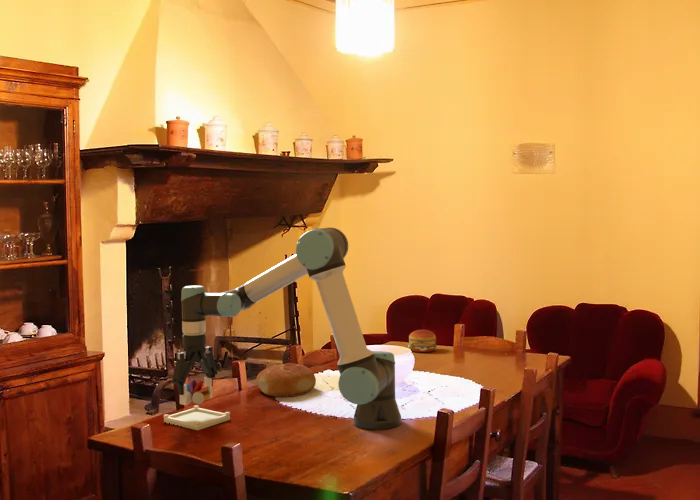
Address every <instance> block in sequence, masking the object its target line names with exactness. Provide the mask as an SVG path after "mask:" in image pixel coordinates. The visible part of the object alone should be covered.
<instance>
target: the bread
mask: <svg viewBox="0 0 700 500" xmlns="http://www.w3.org/2000/svg"><path fill="white" fill-rule="evenodd" d="M316 381H317V378H316V375H315V373H313V371H312V370H311V369H310V368H309V367H308V366H305V365H303V364H302V365H301V364H297V363H294V362H293V363H292V362H287V363H283V364H282V363H278V364H275V365H271V366H269V367H267V368H265V369H263V370H262V371H260V372H259V373H258V374H257V376H256V384H257V386H258V388H259V389H260V391H261V392H262V393H263V394H265V395H266V396H270V397H275V398H276V397H280V398H286V397H287V398H289V397H296V396H300V395H304V394H306V393H307V394H308V393H309V392H311V391H312V390H313V389H314V388H315V386H316V383H317V382H316Z"/></svg>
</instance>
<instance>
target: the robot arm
mask: <svg viewBox="0 0 700 500" xmlns="http://www.w3.org/2000/svg"><path fill="white" fill-rule="evenodd" d="M295 246H296V247H295V254H293V255H291V256H290V257H289V258H286V259H285V260H283V261H281V262H280V263H278V264H276V265H274V266H272V267H271V268H269V269H267V270H266V271H264V272H262V273H260V274H259V275H257V276H255V277H253V278H251V279H250V280H248V281H247V282H244V283H243V284H241V285H240V286H237V287H236V288H233V289H230V290H226V291H222V292H207V291H206V289H205V287H204V286H203V285H185V286H183V287H182V289H181V296H180V297H181V298H180V302H181V304H180V305H181V318H182V319H181V330H182V331H181V332H182V336H181V337H182V346H183V351H181V352H176V353H175V359H176V360H175V364H174V365H175V366H174V371H173V376H172V380H171V382H172V384H174V385H177V394H178V395H179V405H183V406H187V405H188V404H187V385H185V384H186V380H187V379H188V376H189V372H190V370H191V368H192V366H193V365H194V363H197V362H198V363H199V365H200V367H201V370H202V371H203V373H204V374H205V376H204V378H203V379H204V381H203V385H204V388H205V387H207V386H208V387H209V390H210V392H211V396H210V398H209V399H212V398H213V386H214V384H213V383H214V379H215V377H216V375H218V369H217V364H216V361H215V357H214V353H213V351H214V348H213V346H208V345H207V334H206V331H207V327H206V326H207V324H206V320H207V319H206V317H222V318H223V317H224V318H228V317H229V318H230V317H237V316H238V314H239V313H241V311H246V310H249V309H250V308H251V307H253V306H254V305H255V304H256V303H258V302H260V301H262V300H263V299H265V298H267V297H268V296H270V295H273V294H274V293H276V292H278V291H280V290H282V289H283V288H285V287H287V286H289V285H290V284H293V283H294V282H296V281H297V280H300V279H301V278H303V277H304V276H307V275H308V277H309V279H310V280H313V281H314V282H315V283H316V286H317V289H318V291H319V296H320V298H321V302H322V305H323V307H324V311H325V313H326V317H327V321H328V323H329V327H330V330H331V333H332V336H333V339H334V342H335V346H336V348H337V349H336V350H337V351H338V356H339V359H338V361H337V363H336V365H337V369H338V372H339V379H338V381H337V383H338V390H339V392H340V395H341V396H342V397H343V398H344V399H345V400H346V401H347V402H350V403H352V404H354V405H356V407H355V411H354V414H353V424H354V426H356V427H358V428H360V429H364V430H365V429H366V430H388V429H393V428H396V427H398V426H400V425H401V424H402V414H401V413H400V409H399V405H398V403H397V400H396V360H395V354H394V353H393V352H390V351H383V350H382V351H381V350H371V349H368V346H367V344H366V341H365V338H364V335H363V332H362V328H361V325H360V322H359V319H358V316H357V313H356V310H355V307H354V303H353V301H352V297H351V294H350V292H349V288H348V285H347V282H346V279H345V275H344V271H345V269H346V262H345V258H346V256H347V254H348V252H349V241H348V238H347V236H346V234H344V232H343V231H342V230H340V229H339V228H336V227H324V228H323V227H322V228H319V227H318V228H313V229H311V230H307V231H306V232H304V233H303V234H302V235H301V236H300V237H299V238H298V240H297V242H296V245H295ZM205 345H207V346H205Z"/></svg>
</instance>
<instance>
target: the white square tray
mask: <svg viewBox="0 0 700 500" xmlns="http://www.w3.org/2000/svg"><path fill="white" fill-rule="evenodd" d="M230 415H231V412H230V411H225V412H221V411H215V410H211V409H207V408H201V407H200V406H199V404H196V405H193V407H191V408H190V409H187V410H183V411H180V412H177V413H173V414H163V423H165V422H166V423H165V424H169V423H170V425H173V424H174V425H173V426H177V425H178V426H179V427H181V426H182V427H183V428H185V429H191V430H195V431H199V430H202V429H207V428H209V427H211V426H212V427H213V426H215V425H218V424H221V423H224V422H227V421H230V420H231V417H230Z"/></svg>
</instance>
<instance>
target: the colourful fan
mask: <svg viewBox="0 0 700 500" xmlns="http://www.w3.org/2000/svg"><path fill="white" fill-rule="evenodd" d="M185 385H187V405H188V404H190V403H191V402H193V403H194V404H196V405H200V404H203V402H204V401H207V400H209V399H211V398H210V396H211V392H210V390H209V387H208V386H207V387H205V386H204V387H203V385H204V381H203V380H202V379H200V380H199V381H198V382H197V380H195V379H191V380H190V381H189V383H185Z"/></svg>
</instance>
